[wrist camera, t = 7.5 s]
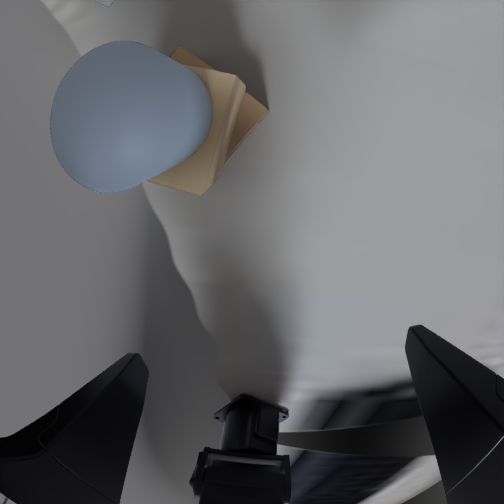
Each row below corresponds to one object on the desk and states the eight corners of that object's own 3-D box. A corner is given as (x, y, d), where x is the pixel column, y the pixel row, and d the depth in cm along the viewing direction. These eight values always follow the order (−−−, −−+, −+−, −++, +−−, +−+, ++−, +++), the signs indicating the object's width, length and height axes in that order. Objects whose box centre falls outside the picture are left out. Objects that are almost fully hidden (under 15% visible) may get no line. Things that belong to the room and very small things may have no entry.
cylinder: (176, 188, 11) (133, 221, 8) (96, 138, 11) (34, 152, 7) (235, 94, 10) (215, 80, 6) (144, 47, 9) (91, 24, 5)
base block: (210, 179, 19) (195, 194, 16) (145, 128, 18) (116, 132, 14) (269, 111, 17) (267, 109, 13) (198, 58, 16) (179, 45, 12)
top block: (219, 176, 15) (202, 196, 11) (136, 155, 15) (97, 168, 11) (246, 86, 13) (235, 75, 9) (156, 69, 13) (120, 58, 9)
